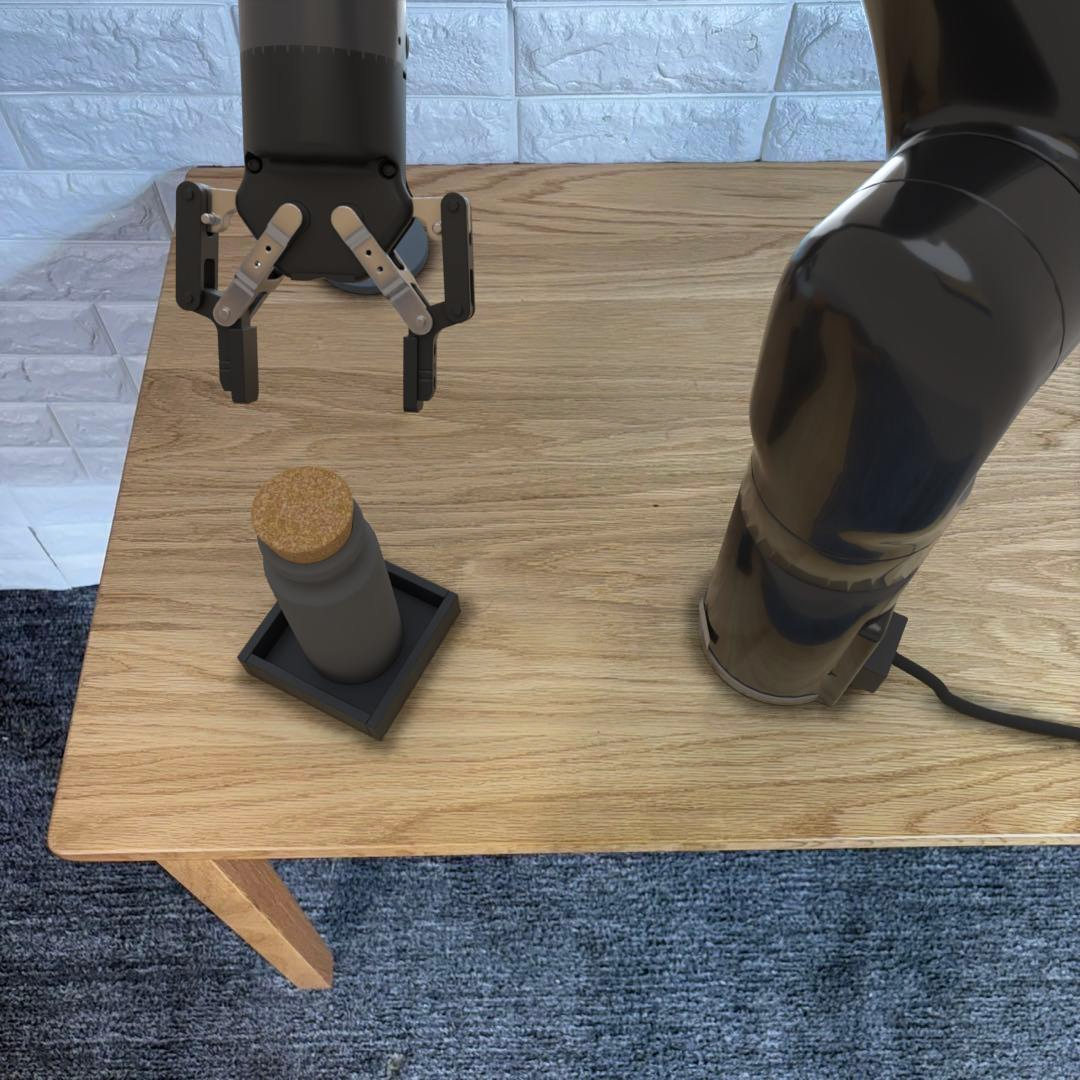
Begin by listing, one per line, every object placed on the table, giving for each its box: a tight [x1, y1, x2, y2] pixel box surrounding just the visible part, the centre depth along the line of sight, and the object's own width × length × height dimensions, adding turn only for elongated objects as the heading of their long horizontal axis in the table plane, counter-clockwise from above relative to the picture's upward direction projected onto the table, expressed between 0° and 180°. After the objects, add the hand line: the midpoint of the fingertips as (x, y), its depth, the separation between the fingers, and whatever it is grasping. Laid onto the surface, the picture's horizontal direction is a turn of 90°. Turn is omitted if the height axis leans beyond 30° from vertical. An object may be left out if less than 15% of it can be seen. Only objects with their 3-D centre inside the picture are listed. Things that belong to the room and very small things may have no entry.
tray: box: [236, 559, 462, 743], centre depth 58 cm, size 9×9×2 cm
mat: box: [325, 218, 429, 295], centre depth 75 cm, size 8×8×1 cm
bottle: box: [250, 465, 403, 684], centre depth 53 cm, size 6×6×15 cm
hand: (329, 406), depth 50 cm, fingers open, 8 cm apart
